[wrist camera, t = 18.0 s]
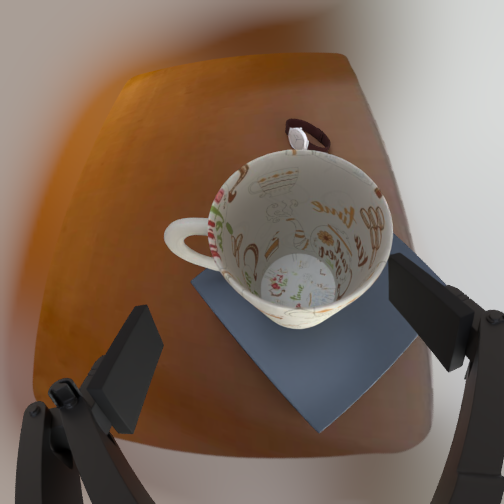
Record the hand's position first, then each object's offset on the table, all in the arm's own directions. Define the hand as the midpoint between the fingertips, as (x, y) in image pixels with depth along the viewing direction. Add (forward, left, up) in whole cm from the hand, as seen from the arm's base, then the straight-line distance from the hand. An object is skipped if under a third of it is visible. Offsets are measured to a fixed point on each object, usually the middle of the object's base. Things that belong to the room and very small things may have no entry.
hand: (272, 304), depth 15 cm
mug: (+2, +3, -6) cm, 7 cm away
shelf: (+5, 0, -15) cm, 16 cm away
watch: (+21, +18, -15) cm, 31 cm away
